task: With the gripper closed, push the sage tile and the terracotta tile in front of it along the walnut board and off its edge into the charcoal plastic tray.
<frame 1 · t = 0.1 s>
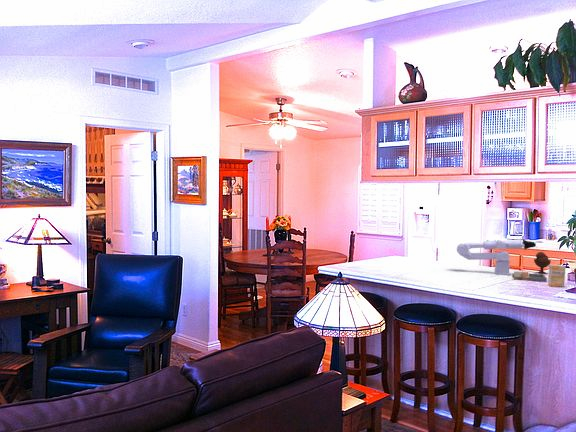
hand: (535, 244, 383), 22 cm above the counter, tool horizontal, fingers open, 7 cm apart
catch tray: (537, 279, 371), on the counter
supplement box: (556, 286, 348), on the counter
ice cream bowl: (541, 273, 396), on the counter
walnut board: (521, 278, 373), on the counter
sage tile: (517, 275, 374), point 2 cm above the counter, touching walnut board
terracotta tile: (524, 275, 373), point 2 cm above the counter, touching walnut board
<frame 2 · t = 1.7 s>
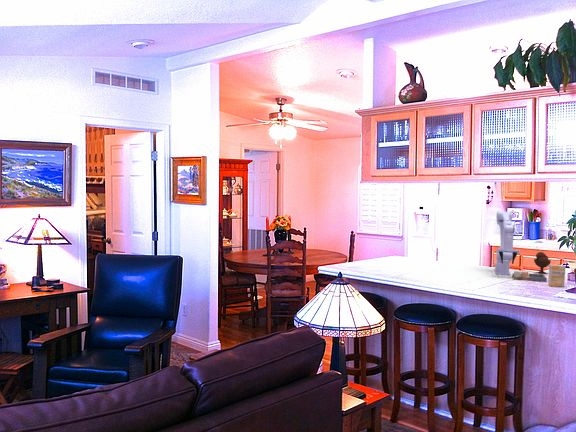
hand: (507, 263, 375), 9 cm above the counter, tool pointing down, fingers open, 6 cm apart
nothing on the counter moved.
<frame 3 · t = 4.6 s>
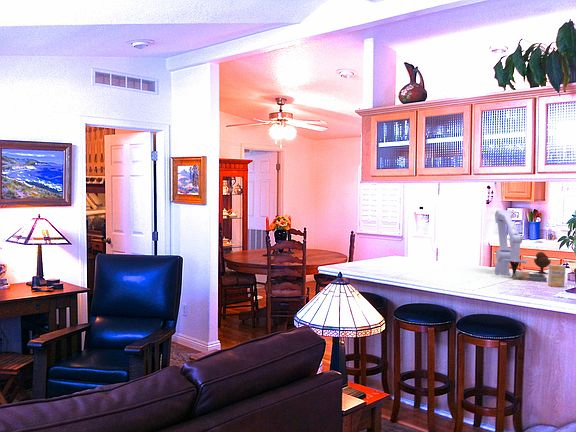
hand: (513, 273, 375), 3 cm above the counter, tool pointing down, fingers closed
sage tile: (518, 275, 374), point 2 cm above the counter, touching gripper, terracotta tile
terracotta tile: (525, 275, 373), point 2 cm above the counter, touching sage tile
everything else where it was.
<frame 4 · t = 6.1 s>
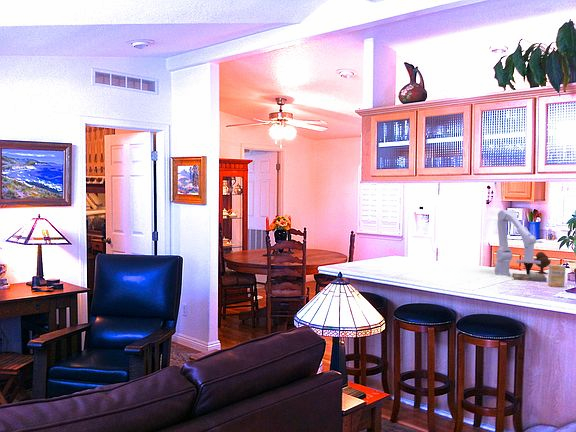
hand: (527, 274, 372), 3 cm above the counter, tool pointing down, fingers closed, pressing on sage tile
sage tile: (531, 276, 371), point 2 cm above the counter, tilted 23°, touching gripper, terracotta tile
terracotta tile: (539, 279, 370), resting on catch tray, touching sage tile
everything else where it was.
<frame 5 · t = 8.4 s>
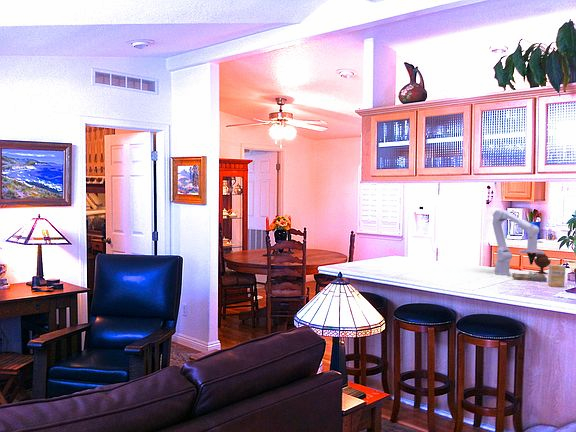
hand: (531, 264, 374), 9 cm above the counter, tool pointing down, fingers closed
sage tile: (530, 276, 372), point 2 cm above the counter, tilted 36°, touching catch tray, walnut board
terracotta tile: (538, 279, 370), resting on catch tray
everything else where it was.
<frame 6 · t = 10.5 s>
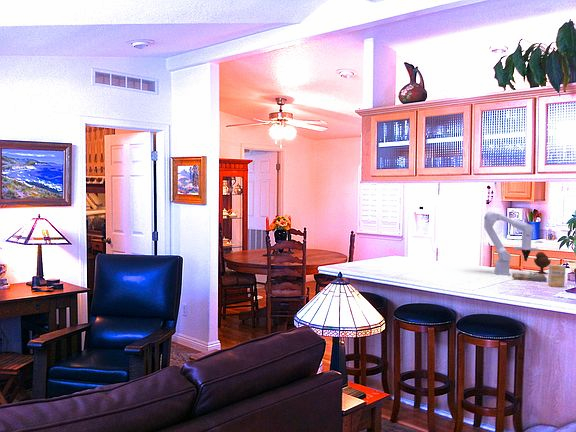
hand: (525, 261, 389), 9 cm above the counter, tool pointing down, fingers closed
nothing on the counter moved.
at the end: terracotta tile inside the target area (1.1 cm from its centre), resting on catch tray; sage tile inside the target area (4.1 cm from its centre), point 1.6 cm above the counter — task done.
